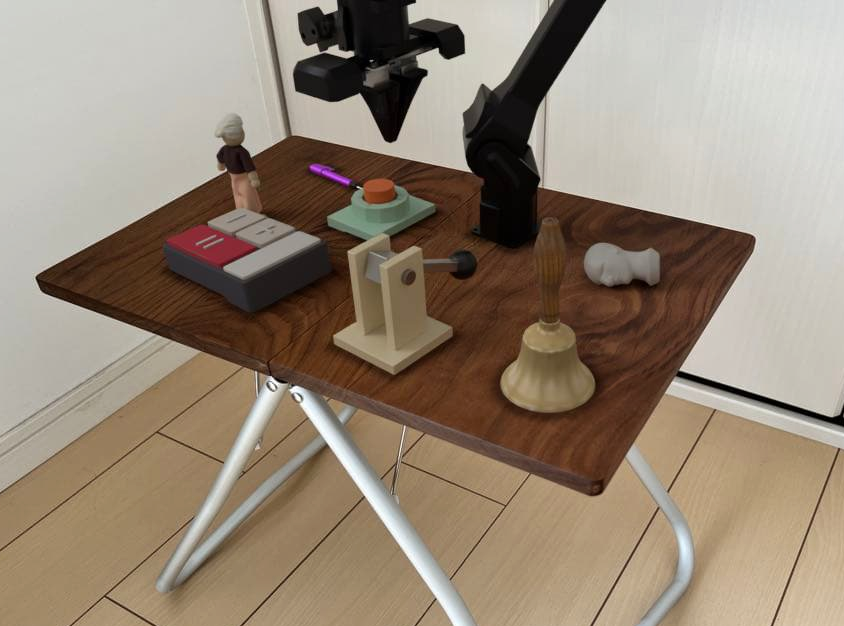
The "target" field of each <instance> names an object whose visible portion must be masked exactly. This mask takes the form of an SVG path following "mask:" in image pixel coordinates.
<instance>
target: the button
mask: <svg viewBox="0 0 844 626" xmlns="http://www.w3.org/2000/svg"><path fill="white" fill-rule="evenodd" d="M395 185H396V184H395V183H394V181H392V180H390V179H387V178H375V179H374V178H373V179H371V180H368V181H365V183H364V184H363V187H362V188H363V189H364V198H365V202H367V203H370V204H384V203H389V202H391V201H393V200H395V198H396V196H395Z"/></svg>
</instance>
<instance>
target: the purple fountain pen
mask: <svg viewBox="0 0 844 626" xmlns="http://www.w3.org/2000/svg"><path fill="white" fill-rule="evenodd" d="M309 171H310V172H311V173H313V174H315V175H318V176H319V177H324V178H326V179H329V180H331V181H334V182H335V183H338V184H341V185H343V186H345V187H347V188H351V189H358V190H360V189H362V188H363V187H361V186H359V184H358V182H356V181H354V180H353V179H350V178H347V177H345V176H343V175H341V174H338V173H335V172H333V171H336V170H335V169H334V168H332V167H330V166H328V165H322V164H320V163H313V164H311V165H310V166H309Z"/></svg>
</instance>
